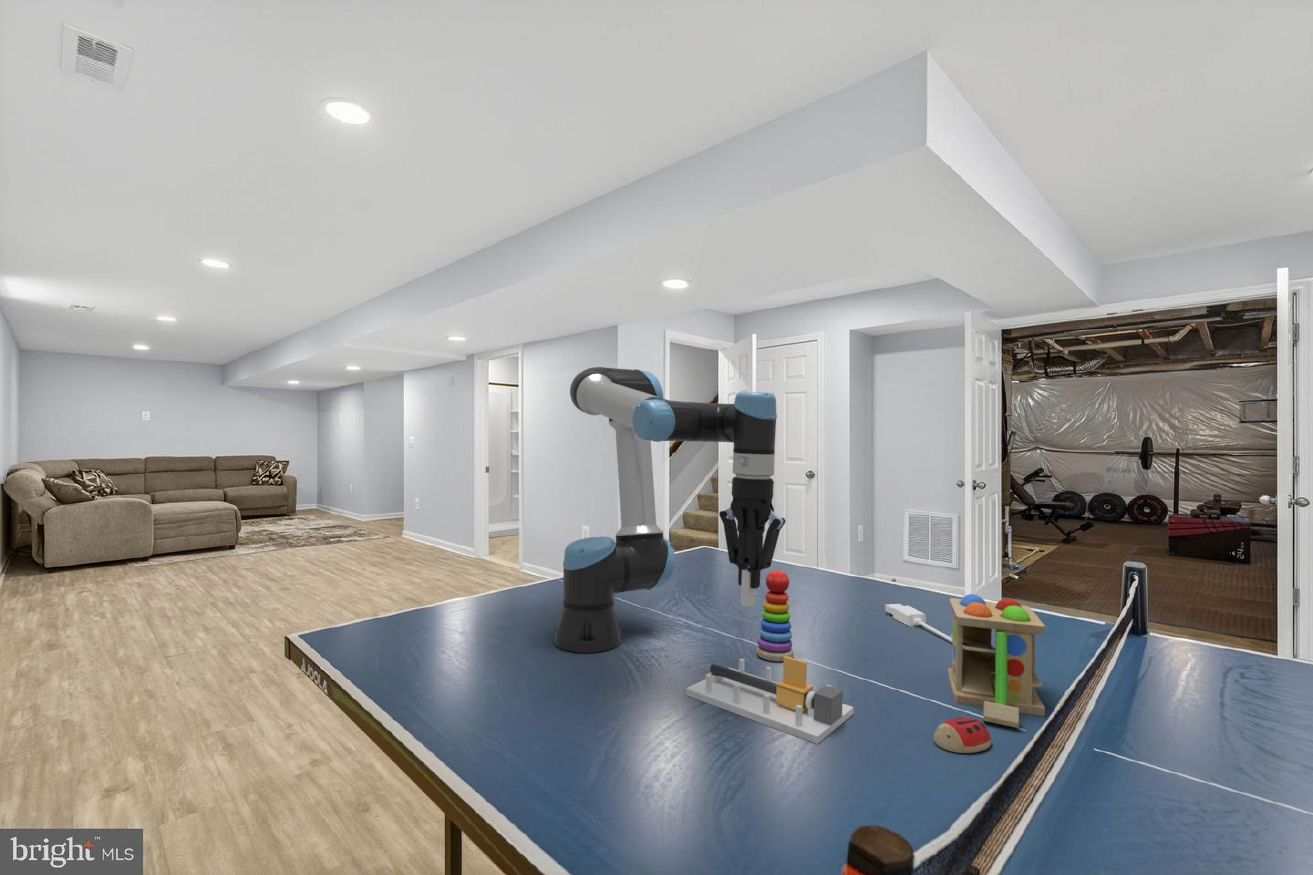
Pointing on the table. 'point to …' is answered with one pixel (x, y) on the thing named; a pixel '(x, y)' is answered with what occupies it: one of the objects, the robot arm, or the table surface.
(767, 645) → the stacking toy
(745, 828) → the table surface
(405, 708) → the table surface
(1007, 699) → the pounding bench toy
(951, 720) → the ladybug figurine
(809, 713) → the slider track board
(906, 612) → the charging cable
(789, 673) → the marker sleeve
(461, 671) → the table surface
